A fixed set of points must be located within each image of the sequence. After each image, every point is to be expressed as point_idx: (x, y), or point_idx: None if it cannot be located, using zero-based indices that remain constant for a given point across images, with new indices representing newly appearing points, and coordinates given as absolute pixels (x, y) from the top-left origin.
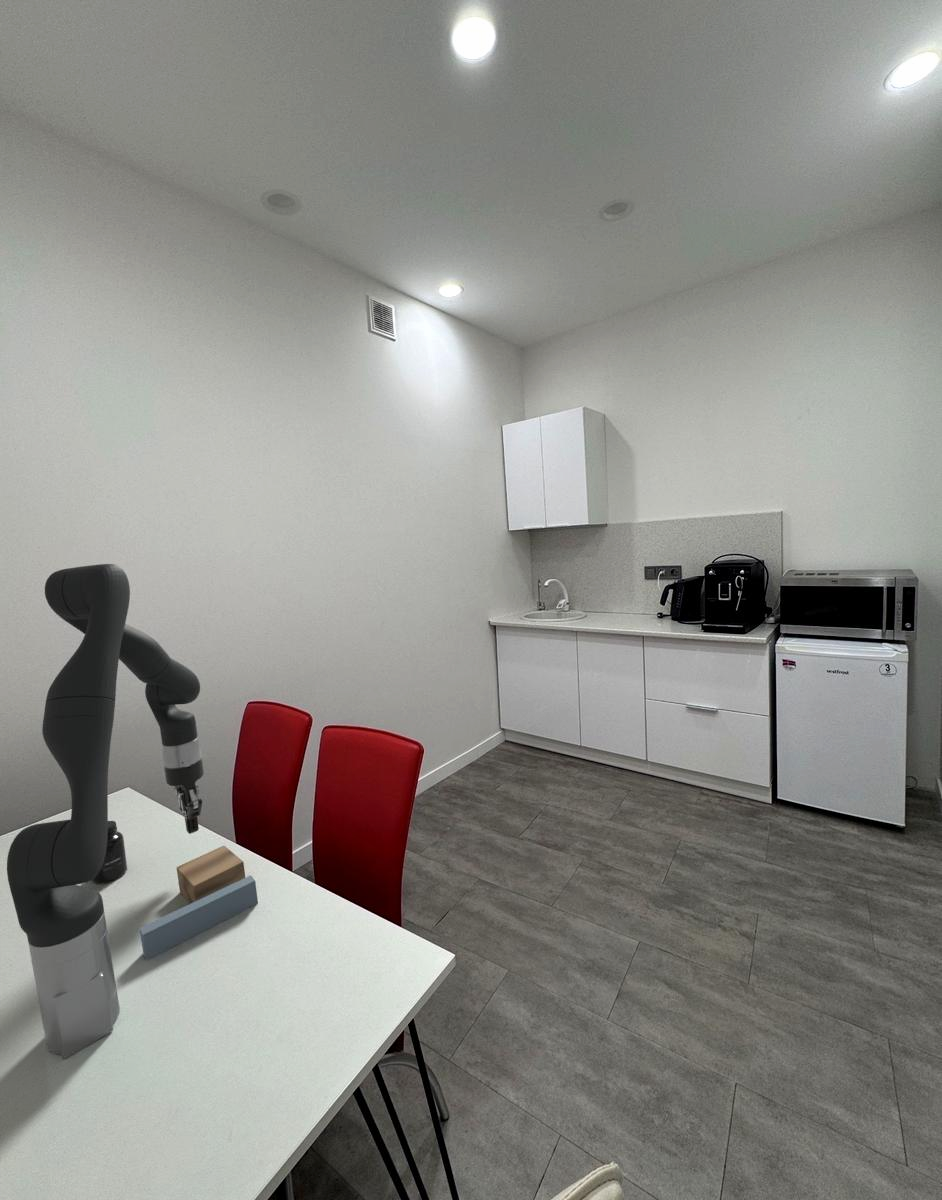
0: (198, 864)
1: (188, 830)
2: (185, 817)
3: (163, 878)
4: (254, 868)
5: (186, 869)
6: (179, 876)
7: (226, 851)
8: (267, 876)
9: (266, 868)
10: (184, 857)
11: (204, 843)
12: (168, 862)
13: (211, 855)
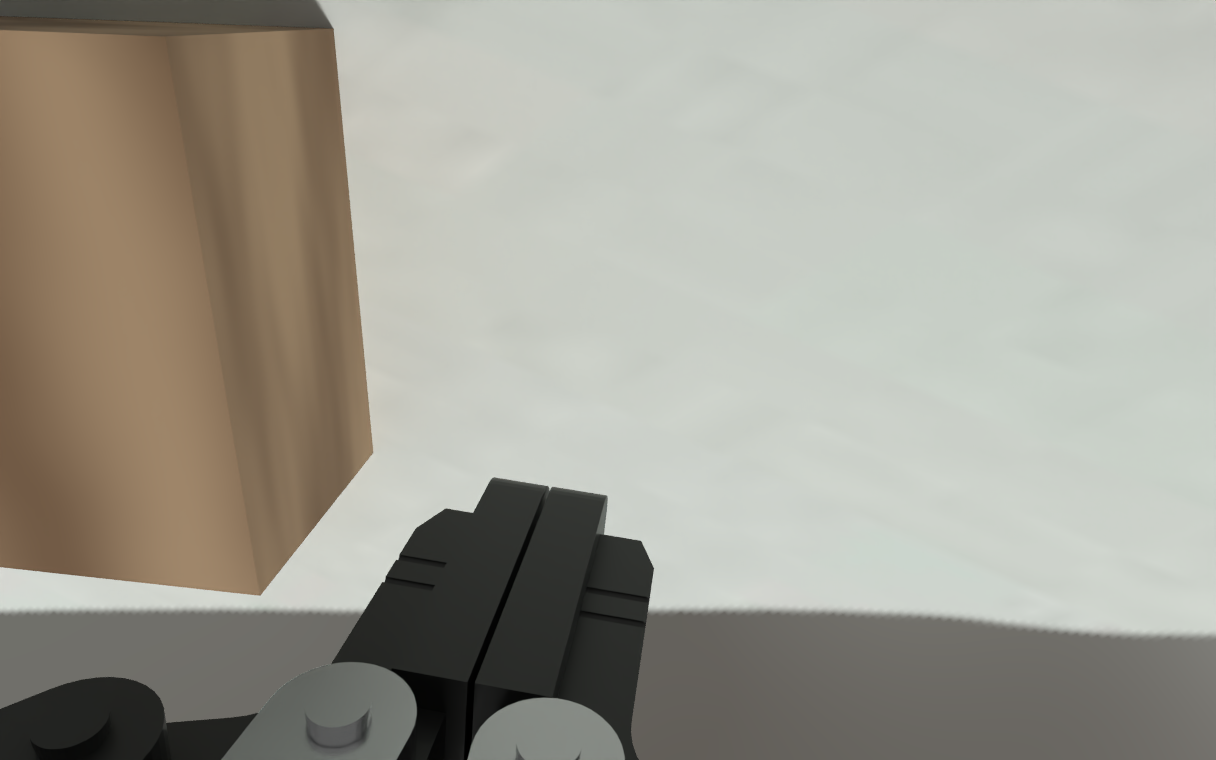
0: (35, 252)
1: (483, 508)
2: (310, 697)
3: (744, 7)
4: None
5: (15, 106)
6: (156, 31)
7: (104, 549)
8: None
9: (147, 605)
10: (944, 320)
11: (1000, 541)
12: (1026, 174)
13: (141, 428)
